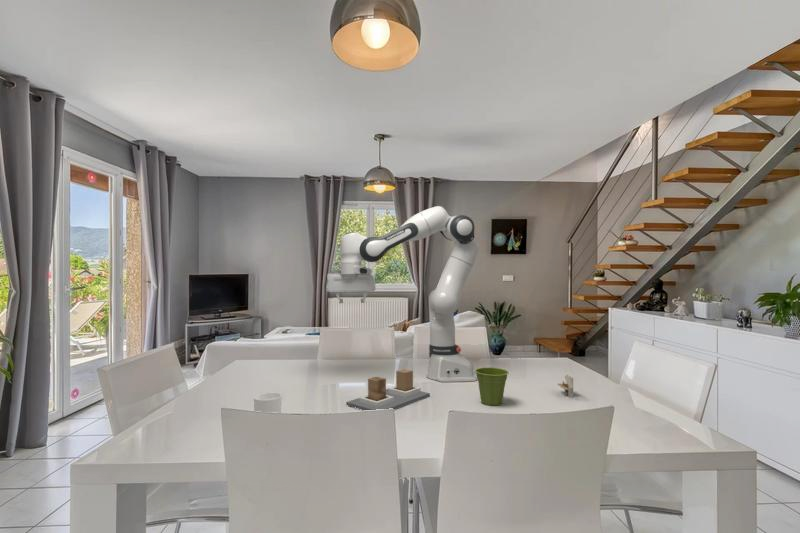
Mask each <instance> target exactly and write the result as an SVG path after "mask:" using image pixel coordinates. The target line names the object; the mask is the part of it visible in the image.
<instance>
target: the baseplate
mask: <svg viewBox="0 0 800 533" xmlns="http://www.w3.org/2000/svg"><path fill="white" fill-rule="evenodd" d="M395 372H396V373H395V374H396V376H395V378H396V382H395V383H396V385H395V386H393V387H389V388H386V399H383V400H380V401H374V400H370V399H368V394H367V395H364V396H361V397H358V398H355V399H351V400H347V401H346V403H345V404H346V406H347V405H348V406H347V407H350V406H352V407H351V408H353V407H356V408H359V409H358V410H360V409H362V410H361V411H363V410H376V409H389V408H393V409H395V410H398V409H400V408H403V407H406V406H408V405H411V404H414V403H417V402H418V401H422V400H424V399H427V398H430V397H431V396H430V395H431V393H430V392H425V391H421V387H418V386H414V376H413V375H414V370H411V369H406V368H403V369H398V370H396V371H395ZM356 408H355V409H356Z"/></svg>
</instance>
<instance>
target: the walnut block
mask: <svg viewBox="0 0 800 533" xmlns="http://www.w3.org/2000/svg"><path fill="white" fill-rule="evenodd" d="M386 389H387V378H385V377H381V376H375V377H370V378H368V379H367V395H368V399H370V400H374V401H380V400H383V399H386Z"/></svg>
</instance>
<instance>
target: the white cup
mask: <svg viewBox="0 0 800 533" xmlns="http://www.w3.org/2000/svg"><path fill="white" fill-rule="evenodd" d="M282 396H283V395H282V393H279V392H275V391H274V392H272V391H271V392H262V393H258V394H256V395H254V396H253V409H254V410H253V411H261V412H278V413H281V414H282Z"/></svg>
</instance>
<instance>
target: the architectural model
mask: <svg viewBox="0 0 800 533" xmlns="http://www.w3.org/2000/svg"><path fill="white" fill-rule="evenodd" d="M564 379H565V381H563V383H556V385H557V386H559V387H560V388H561V389H563V390H564V393H565V395H566V396H567V397H568V398H574V378H573V376H570V375H569V374H566V375H564Z"/></svg>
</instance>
